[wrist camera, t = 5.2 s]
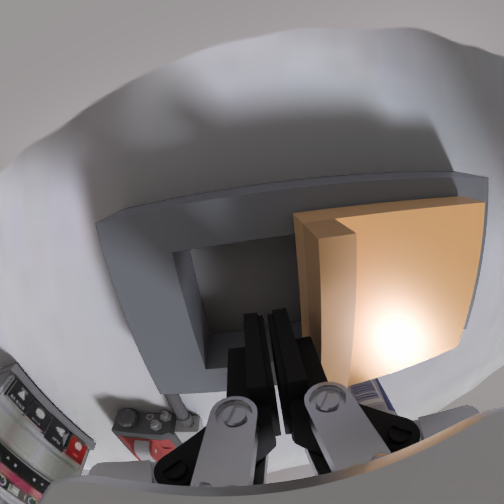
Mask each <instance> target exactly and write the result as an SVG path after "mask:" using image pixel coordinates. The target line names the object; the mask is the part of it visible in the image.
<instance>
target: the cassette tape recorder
mask: <svg viewBox="0 0 504 504" xmlns="http://www.w3.org/2000/svg"><path fill="white" fill-rule="evenodd" d="M95 445H96V443H95V442H93V441H92V439H91V438H90V437H88V436H86V435H85V434H84V433H83V432H81V431H80V430H79V429H78V428H77V427H76V426H75V425H73V424H72V423H71V422H70V421H69V420H68V419H67V418H66V417H65V416H64V415H63V414H62V413H61V412H60V411H59V410H58V409H57V408H56V407H55V406H54V405H53V404H52V403H51V402H50V401H49V400H48V399H47V398H46V397H45V396H44V395H43V394H42V393H41V392H40V391H39V390H38V388H37V387H36V386H35V385H34V384H33V383H32V382H31V380H30V379H29V378H28V377H27V376H26V374H25V373H24V372H23V371H22V369H21V367H20V366H19V365H18V364H17V363H15V364H12V365H10V366H7V367H5V368H2V369H0V504H39V501H40V499H41V497H42V495H43V493H44V492H45V490H46V489H47V487H48V486H49V485H50V484H51V483H52V482H54V481H56V480H58V479H61V478H65V477H71V476H81V473H82V470H83V467H84V464H85V462H86V459H87V456H88V453H89V450H94V448H95Z"/></svg>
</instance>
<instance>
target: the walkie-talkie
mask: <svg viewBox="0 0 504 504" xmlns="http://www.w3.org/2000/svg"><path fill="white" fill-rule="evenodd" d="M165 396H166V398H167V400H168V402H169V404H170V405H171V407H172V409H173V411H174V413H175V414H176V415H175V414H173V413H168V411H162V412H161V413H141V412H135V411H134V410H132V409H125V410H122V411H118V413H117V416H116V419H115V422H114V425H113V427H112V431H113V432H114V434H115V435H116V436H117V437H118V438H119V439H120V441H121V442H122V443H123V444H124V445H125V446H126V447H127V448H128V449H129V451H130V452H131V453H133V455H134V456H135V457H136V458H137V459H138V460H139V461H143V460H150V461H151V462H158V461H159V460H160V459H161V458H162V457H163V456H165V455H166V454H168V453H169V452H171V451H172V450H174V449H175V448H177V447H178V446H180V445H181V444H182V443H184V442H185V441H187V440H188V439H189V438H191V437H192V436H194V435H195V434H196V433H198V432H199V431H200V430H202V429H203V428H204V427H203V425H202V419H201V417H200V416H199V415H193V416H191V414H190V413H189V412H188V411H187V410H186V408H185V406H184V404H183V402H182V400H181V398H180V396H179V394H165Z"/></svg>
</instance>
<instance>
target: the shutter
mask: <svg viewBox="0 0 504 504" xmlns="http://www.w3.org/2000/svg"><path fill="white" fill-rule="evenodd" d="M484 213H485V202H482V201H479V200H476V199H472V198H469V197H465V196H455V197H442V198H429V199H417V200H405V201H395V202H384V203H375V204H365V205H356V206H347V207H338V208H330V209H321V210H313V211H305V212H298V213H293V221H294V231H295V242H296V253H297V265H298V277H299V291H300V306H301V323H302V337H307V336H310V337H311V339H312V341H313V343H314V346H315V349H316V351H317V354H318V356H319V359H320V362H321V364H322V367H323V370H324V372H325V375H326V378H327V380H328V382H336V383H340V384H342V385H344V386H345V387H346V388H347V389H348V386H350V385H354V384H358V383H361V382H365V381H368V380H372V379H375V378H378V377H381V376H384V375H387V374H390V373H393V372H396V371H399V370H402V369H405V368H407V367H410V366H413V365H415V364H418V363H421V362H423V361H426V360H428V359H430V358H433V357H435V356H438V355H440V354H442V353H444V352H447V351H449V350H451V349H453V348H455V347H458V344H459V341H460V338H461V335H462V332H463V329H464V325H465V322H466V319H467V315H468V311H469V307H470V304H471V299H472V295H473V291H474V286H475V281H476V276H477V271H478V265H479V259H480V252H481V245H482V237H483V226H484Z"/></svg>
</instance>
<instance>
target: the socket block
mask: <svg viewBox="0 0 504 504" xmlns="http://www.w3.org/2000/svg"><path fill="white" fill-rule="evenodd" d="M455 196H465V197H469V198H472V199H476V200H479V201H482V202H485V213H484V226H483V237H482V245H481V252H480V259H479V265H478V271H477V276H476V281H475V286H474V291H473V295H472V299H471V304H470V307H469V311H468V315H467V319H466V322H465V325H464V329H466V327H467V324H468V321H469V317H470V313H471V310H472V306H473V302H474V298H475V294H476V289H477V285H478V280H479V275H480V270H481V264H482V258H483V251H484V243H485V235H486V225H487V211H488V177H483V176H478V175H472V174H467V173H461V172H455V171H424V172H391V173H371V174H356V175H342V176H330V177H319V178H309V179H300V180H291V181H282V182H274V183H266V184H259V185H252V186H245V187H238V188H231V189H225V190H219V191H213V192H207V193H201V194H195V195H190V196H184V197H179V198H174V199H169V200H164V201H159V202H154V203H149V204H145V205H140V206H135V207H131V208H127V209H123V210H121V211H119V212H117V213H115V214H113V215H111V216H109V217H107V218H105V219H103V220H101V221H99V222H97V223H95V224H96V228H97V232H98V236H99V239H100V243H101V247H102V250H103V254H104V257H105V261H106V264H107V267H108V270H109V273H110V277H111V280H112V283H113V286H114V289H115V291H116V294H117V297H118V300H119V303H120V305H121V308H122V311H123V313H124V316H125V318H126V321H127V323H128V326H129V328H130V331H131V333H132V336H133V338H134V340H135V343H136V345H137V347H138V349H139V352H140V354H141V356H142V358H143V360H144V363H145V365H146V367H147V369H148V371H149V373H150V375H151V377H152V379H153V381H154V383H155V385H156V387H157V389H158V391H159V393H160V394H186V393H206V392H220V391H227V366H228V349H229V348H236V347H244V346H245V337H244V330H239V331H231V332H223V333H214V334H210V332H209V328H208V324H207V320H206V317H205V313H204V309H203V305H202V301H201V297H200V293H199V289H198V285H197V281H196V276H195V272H194V268H193V263H192V259H191V255H190V250H191V249H197V248H204V247H210V246H217V245H224V244H230V243H237V242H244V241H250V240H257V239H264V238H271V237H278V236H285V235H292V234H295V231H294V221H293V213H298V212H305V211H313V210H321V209H330V208H338V207H347V206H356V205H365V204H375V203H384V202H395V201H405V200H417V199H429V198H442V197H455ZM291 326H292V330H293V333H294V336H295V339H297V338H302V323H301V321H298V322H292V323H291ZM464 329H463V330H464ZM265 331H266V337H267V343H268V349H269V356H270V362H271V368H272V374H273V381H274V385H277V380H276V374H275V368H274V361H273V354H272V346H271V339H270V331H269V326H267V327H265Z"/></svg>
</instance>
